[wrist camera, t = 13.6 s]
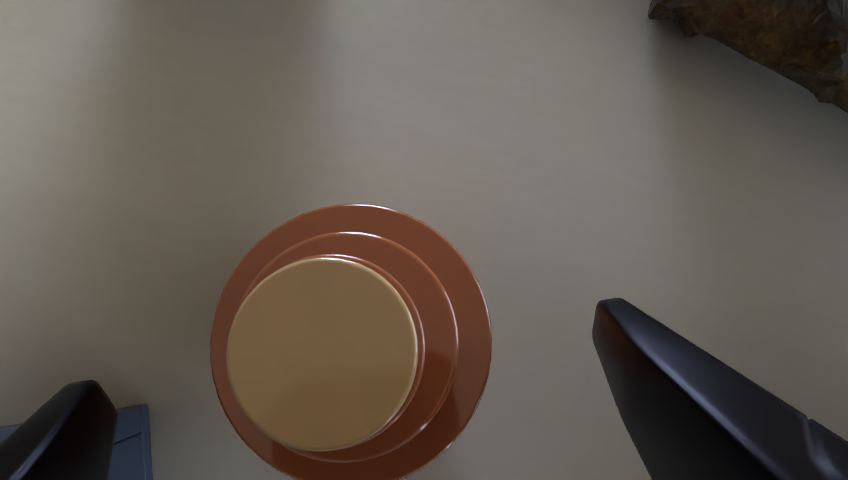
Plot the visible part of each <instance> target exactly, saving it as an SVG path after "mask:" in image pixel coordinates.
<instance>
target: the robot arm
mask: <svg viewBox="0 0 848 480" xmlns="http://www.w3.org/2000/svg"><path fill="white" fill-rule="evenodd" d="M592 337H593V342H594V345H595V348H596V351H597V354H598V356H599V359H600V362H601V364H602V367H603V370H604V373H605V375H606V378H607V381H608V384H609V386H610V389H611V392H612V394H613V397H614V400H615V403H616V405H617V408H618V410H619V413H620V415H621V418H622V420H623V422H624V424H625V426H626V429H627V431H628V433H629V435H630V437H631V439H632V441H633V443H634V445H635V447H636V449H637V451H638V453H639V455H640V457H641V459H642V461H643V463H644V465H645V467H646V469H647V471H648V473H649V475H650V477H651V479H652V480H848V441H846V440H845V439H843V438H841V437H840V436H838V435H837V434H835V433H833V432H832V431H830V430H829V429H827V428H826V427H824V426H822V425H821V424H819V423H818V422H816V421H815V420H813V419H809V420H808V418H807V416H806V415H805V414H803V413H802V412H800V411H799V410H797V409H795V408H794V407H792V406H791V405H789V404H787V403H786V402H784V401H783V400H781V399H780V398H778V397H776V396H775V395H773V394H772V393H770V392H769V391H767V390H765V389H764V388H762V387H761V386H759V385H758V384H756V383H754V382H753V381H751V380H750V379H748V378H747V377H745V376H743V375H742V374H740V373H739V372H737V371H736V370H734V369H732V368H731V367H729V366H728V365H726V364H725V363H723V362H721V361H720V360H718V359H717V358H715V357H714V356H712V355H710V354H709V353H707V352H706V351H704V350H703V349H701V348H699V347H698V346H696V345H695V344H693V343H692V342H690V341H688V340H687V339H685V338H684V337H682V336H681V335H679V334H677V333H676V332H674V331H673V330H671V329H670V328H668V327H666V326H665V325H663V324H662V323H660V322H659V321H657V320H655V319H654V318H652V317H651V316H649V315H647V314H646V313H644V312H643V311H641V310H640V309H638V308H636V307H635V306H633V305H632V304H630V303H629V302H627V301H625V300H624V299H621V298H613V299H606V300H601V301H599V302H598V304H597V306H596V311H595V318H594V324H593V330H592ZM117 420H118V416H117V411H116V408H115V406H114V405H113V403H112V402H111V400H110V399H109V397H108V396H107V394H106V393H105V392H104V390H103V389H102V387H101V386H100V384H99V383H98V382H96V381H94V380H86V381H80V382H74V383H70V384H68V385H66V386H65V387H63V388H62V389H61V390H60V391H59V392H58V393H57V394H55V395H54V396H53V397H52V398H51V399H50V400H49V401H48V402H47V403H45V404H44V405H43V406H42V407H41V408H40V409H39V410H38V411H36V412H35V413H34V414H33V415H32V416H31V417H30V418H29V419H28V420H26V421H25V422H24V423H23V424H22V425H21V426H20V427H19V428H17V429H16V430H15V431H14V432H13V433H12V434H11V435H10V436H9V437H7V438H6V439H5V440H4V441H3V442H2V443H1V444H0V480H107V479H108V474H109V468H110V462H111V456H112V450H113V445H114V439H115V433H116V427H117Z"/></svg>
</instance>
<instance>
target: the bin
mask: <svg viewBox="0 0 848 480" xmlns="http://www.w3.org/2000/svg"><path fill="white" fill-rule="evenodd" d="M116 411H117V416H118V420H117V427H116V433H115V439H114V445H113V450H112V456H111V462H110V468H109V474H108V479H107V480H153V474H152V459H151V445H150V430H149V416H148V405H147V404H143V405H137V406H130V407H124V408H118V409H116ZM21 425H22V424H17V425H11V426H4V427H0V444H1V443H2V442H3V441H4V440H5V439H6V438H7V437H9V436H10V435H11V434H12V433H13V432H14V431H15V430H16V429H17V428H19V427H20V426H21Z"/></svg>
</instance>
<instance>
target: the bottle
mask: <svg viewBox="0 0 848 480" xmlns="http://www.w3.org/2000/svg"><path fill="white" fill-rule="evenodd" d="M491 353H492V334H491V322H490V317H489V313H488V308H487V304H486V301H485V298H484V295H483V293H482V290H481V287H480V285H479V283H478V281H477V279H476V277H475V275H474V273H473V271H472V270H471V268H470V267H469V265H468V264H467V262H466V261H465V259H464V258H463V257H462V255H461V254H460V253H459V252H458V251H457V250H456V249H455V248H454V246H453V245H452V244H451V243H450V242H449V241H448V240H446V239H445V238H444V237H443V236H442V235H441V234H439V233H438V232H437V231H436V230H434V229H433V228H431V227H430V226H428V225H427V224H425V223H424V222H422V221H420V220H418V219H416V218H414V217H412V216H410V215H408V214H405V213H402V212H399V211H396V210H393V209H390V208H385V207H380V206H375V205H365V204H344V205H334V206H329V207H323V208H319V209H316V210H313V211H310V212H306V213H303V214H301V215H299V216H297V217H295V218H292V219H290V220H288V221H286V222H285V223H283V224H281V225H280V226H278V227H277V228H275V229H273V230H272V231H271V232H269V233H268V234H267V235H266V236H264V237H263V238H262V239H261V240H260V241H258V242H257V243H256V244H255V245H254V246H253V247H252V248H251V249H250V251H249V252H248V253H247V254H246V255H245V256H244V257H243V259H242V260H241V261H240V263H239V264H238V265H237V267H236V268H235V269H234V271H233V273H232V274H231V276H230V278H229V280H228V282H227V283H226V285H225V287H224V289H223V292H222V294H221V297H220V299H219V302H218V304H217V308H216V312H215V316H214V320H213V325H212V333H211V340H210V360H211V368H212V375H213V380H214V384H215V388H216V391H217V395H218V398H219V400H220V403H221V405H222V408H223V410H224V412H225V415H226V416H227V418H228V420H229V421H230V423H231V425H232V426H233V428H234V430H235V431H236V432H237V434H238V435H239V436H240V437H241V439H242V440H243V441H244V442H245V444H246V445H247V446H248V447H249V448H250V449H251V450H252V451H253V452H254V453H255V454H257V455H258V456H259V457H260V458H261V459H262V460H264V461H265V462H266V463H268V464H269V465H271V466H272V467H273V468H275V469H276V470H278V471H280V472H282V473H284V474H286V475H288V476H290V477H292V478H294V479H296V480H399V479H402V478H405V477H407V476H409V475H411V474H412V473H414V472H416V471H418V470H420V469H422V468H424V467H425V466H426V465H428V464H429V463H430V462H432V461H433V460H435V459H436V458H437V457H439V456H440V455H441V454H442V453H443V452H444V451H445V450H446V449H447V448H448V447H449V446H450V445H451V444H453V442H454V441H455V440H456V439H457V437H458V436H459V435H460V434H461V433H462V431H463V430H464V429H465V427H466V426H467V424H468V422H469V421H470V419H471V418H472V416H473V414H474V413H475V411H476V409H477V406H478V404H479V402H480V400H481V398H482V395H483V392H484V389H485V386H486V382H487V379H488V375H489V369H490V363H491Z"/></svg>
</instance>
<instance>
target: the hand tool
mask: <svg viewBox="0 0 848 480" xmlns="http://www.w3.org/2000/svg"><path fill="white" fill-rule="evenodd" d="M648 17H649V19H660V18H666V17H671V18H674V19H677V22H678V25H679V27H680V29H681V31H682V33H683V34H684V36H685V37H694V36H696V35H700V34H703V35H705V36H708V37H710V38H713V39H715V40H717V41H719V42H721V43H722V44H724V45H726V46H728V47H730V48H732V49H733V50H735V51H737V52H738V53H740V54H742V55H743V56H745V57H747V58H748V59H750V60H752V61H755V62H757V63H759V64H762V65H764V66H766V67H768V68H770V69H772V70H774V71H776V72H777V73H779V74H781V75H783V76H785V77H786V78H788V79H790V80H792V81H794V82H796V83H797V84H799V85H801V86H802V87H804V88H806V89H808V90H809V91H810V92H811V93H813V94H814V95H815V97H816V98H817V100H818V101H819V102H821V103H830V104H834V105H836V106H838V107H839V108H841V109H843V110H844V111H845V112H847V113H848V0H652V1H651V4H650V8H649V11H648Z"/></svg>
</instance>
